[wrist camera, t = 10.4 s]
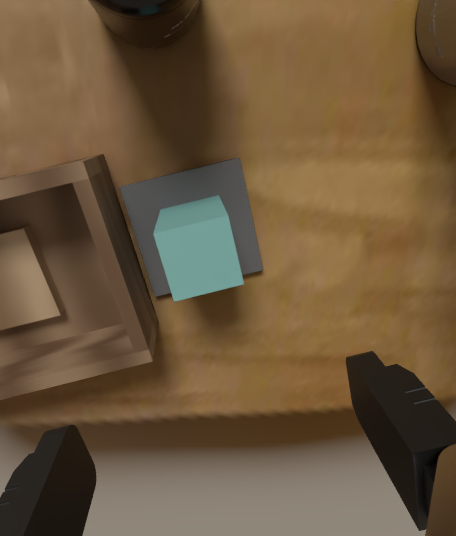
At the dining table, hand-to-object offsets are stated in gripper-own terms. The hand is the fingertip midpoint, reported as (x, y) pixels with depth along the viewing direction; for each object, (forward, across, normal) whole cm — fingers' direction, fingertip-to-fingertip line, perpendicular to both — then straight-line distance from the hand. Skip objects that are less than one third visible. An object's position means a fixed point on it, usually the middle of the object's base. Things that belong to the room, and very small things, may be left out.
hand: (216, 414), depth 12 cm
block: (+20, 0, 0) cm, 20 cm away
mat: (+21, 0, 0) cm, 21 cm away
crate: (+21, +16, 0) cm, 26 cm away
